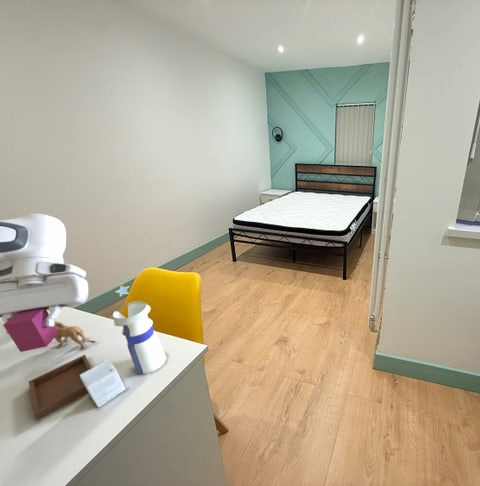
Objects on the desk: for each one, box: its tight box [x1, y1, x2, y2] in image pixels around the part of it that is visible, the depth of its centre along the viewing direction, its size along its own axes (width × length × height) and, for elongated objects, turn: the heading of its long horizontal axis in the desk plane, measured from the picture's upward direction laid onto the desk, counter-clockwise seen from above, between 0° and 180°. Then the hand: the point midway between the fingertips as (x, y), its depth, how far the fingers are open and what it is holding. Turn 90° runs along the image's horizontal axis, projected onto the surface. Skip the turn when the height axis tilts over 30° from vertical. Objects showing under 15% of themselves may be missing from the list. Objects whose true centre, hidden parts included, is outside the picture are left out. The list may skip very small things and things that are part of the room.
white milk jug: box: [112, 284, 167, 375], centre depth 71 cm, size 8×9×25 cm
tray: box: [28, 354, 93, 420], centre depth 69 cm, size 14×12×2 cm
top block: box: [2, 307, 59, 353], centre depth 62 cm, size 5×5×8 cm
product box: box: [80, 359, 126, 408], centre depth 66 cm, size 6×6×7 cm
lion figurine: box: [54, 320, 96, 350], centre depth 82 cm, size 15×5×9 cm, turn 92°
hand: (30, 330), depth 61 cm, fingers closed on top block, 5 cm apart
